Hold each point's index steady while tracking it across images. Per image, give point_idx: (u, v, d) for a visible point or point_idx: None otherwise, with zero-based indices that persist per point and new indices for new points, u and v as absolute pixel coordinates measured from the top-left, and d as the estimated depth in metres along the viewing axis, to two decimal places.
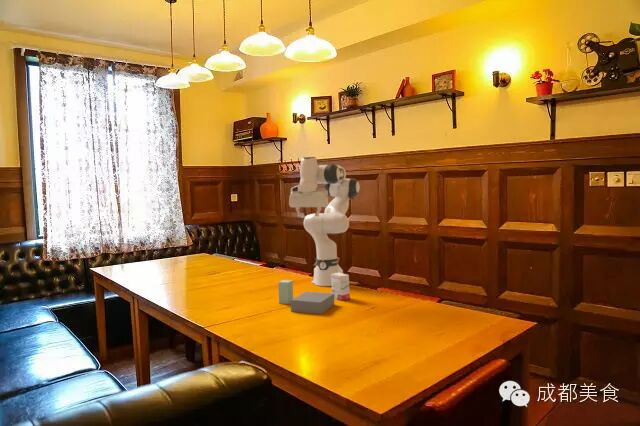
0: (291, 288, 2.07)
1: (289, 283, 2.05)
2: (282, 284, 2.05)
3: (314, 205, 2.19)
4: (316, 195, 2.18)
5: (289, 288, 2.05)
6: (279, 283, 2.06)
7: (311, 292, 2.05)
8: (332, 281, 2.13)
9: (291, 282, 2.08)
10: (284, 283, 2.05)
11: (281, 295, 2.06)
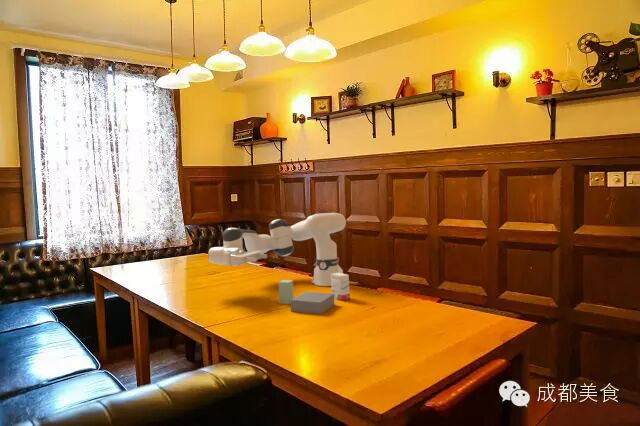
0: (291, 288, 2.07)
1: (289, 283, 2.05)
2: (282, 284, 2.05)
3: (256, 252, 2.18)
4: (248, 251, 2.20)
5: (289, 288, 2.05)
6: (279, 283, 2.06)
7: (311, 292, 2.05)
8: (332, 281, 2.13)
9: (291, 282, 2.08)
10: (284, 283, 2.05)
11: (281, 295, 2.06)
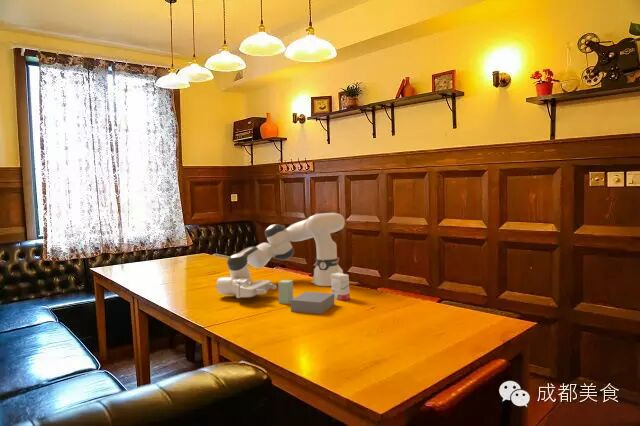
0: (291, 288, 2.07)
1: (289, 283, 2.05)
2: (282, 284, 2.05)
3: (265, 283, 2.16)
4: (257, 282, 2.19)
5: (289, 288, 2.05)
6: (279, 283, 2.06)
7: (311, 292, 2.05)
8: (332, 281, 2.13)
9: (291, 282, 2.08)
10: (284, 283, 2.05)
11: (281, 295, 2.06)
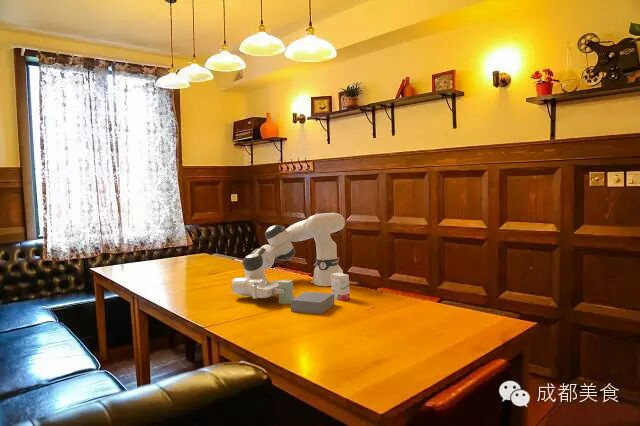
0: (291, 288, 2.07)
1: (289, 283, 2.05)
2: (282, 284, 2.05)
3: None
4: (273, 282, 2.16)
5: (289, 288, 2.05)
6: (279, 283, 2.06)
7: (311, 292, 2.05)
8: (332, 281, 2.13)
9: (291, 282, 2.08)
10: (284, 283, 2.05)
11: (281, 295, 2.06)
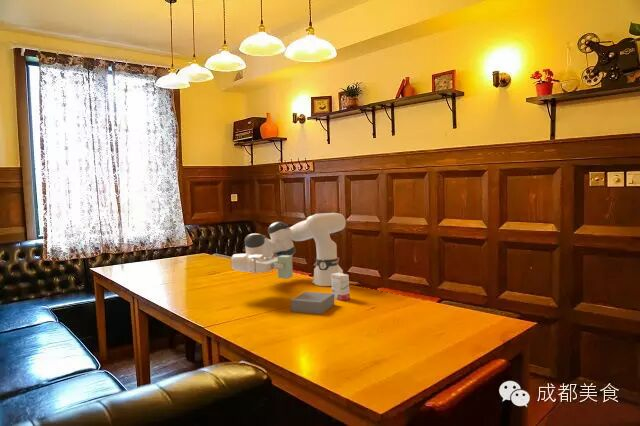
0: (290, 263, 2.07)
1: (288, 258, 2.05)
2: (281, 259, 2.05)
3: None
4: (272, 258, 2.15)
5: (288, 262, 2.04)
6: (278, 258, 2.05)
7: (311, 292, 2.05)
8: (332, 281, 2.13)
9: (290, 257, 2.07)
10: (283, 258, 2.04)
11: (280, 270, 2.05)
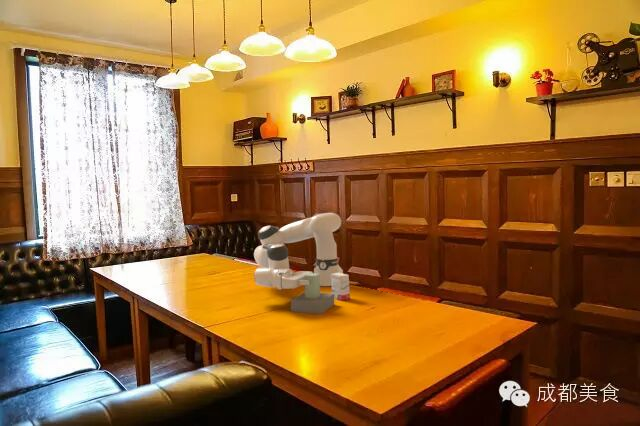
0: (318, 282, 1.96)
1: (316, 277, 1.94)
2: (309, 277, 1.94)
3: (307, 273, 2.02)
4: (297, 272, 2.04)
5: (316, 281, 1.94)
6: (305, 276, 1.95)
7: None
8: (332, 281, 2.13)
9: (318, 275, 1.96)
10: (311, 276, 1.94)
11: (307, 289, 1.95)
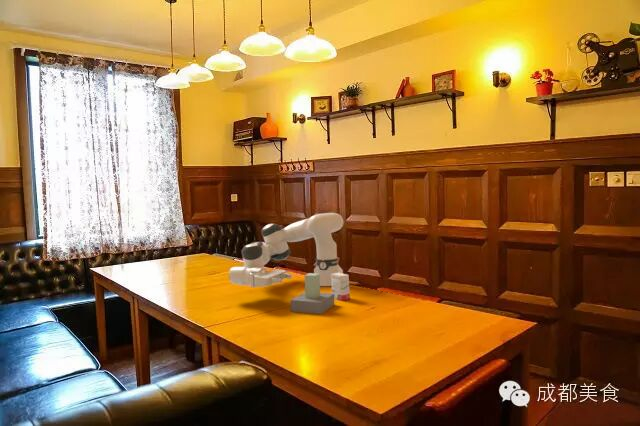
0: (318, 282, 1.96)
1: (316, 277, 1.94)
2: (309, 277, 1.94)
3: (280, 272, 2.07)
4: (271, 271, 2.10)
5: (316, 281, 1.94)
6: (305, 276, 1.95)
7: None
8: (332, 281, 2.13)
9: (318, 275, 1.96)
10: (311, 276, 1.94)
11: (307, 289, 1.95)
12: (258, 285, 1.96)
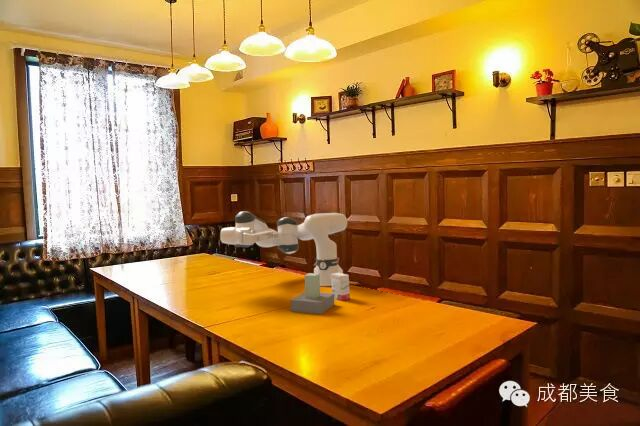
0: (318, 282, 1.96)
1: (316, 277, 1.94)
2: (309, 277, 1.94)
3: (267, 232, 2.21)
4: (259, 231, 2.24)
5: (316, 281, 1.94)
6: (305, 276, 1.95)
7: None
8: (332, 281, 2.13)
9: (318, 275, 1.96)
10: (311, 276, 1.94)
11: (307, 289, 1.95)
12: (246, 242, 2.10)
